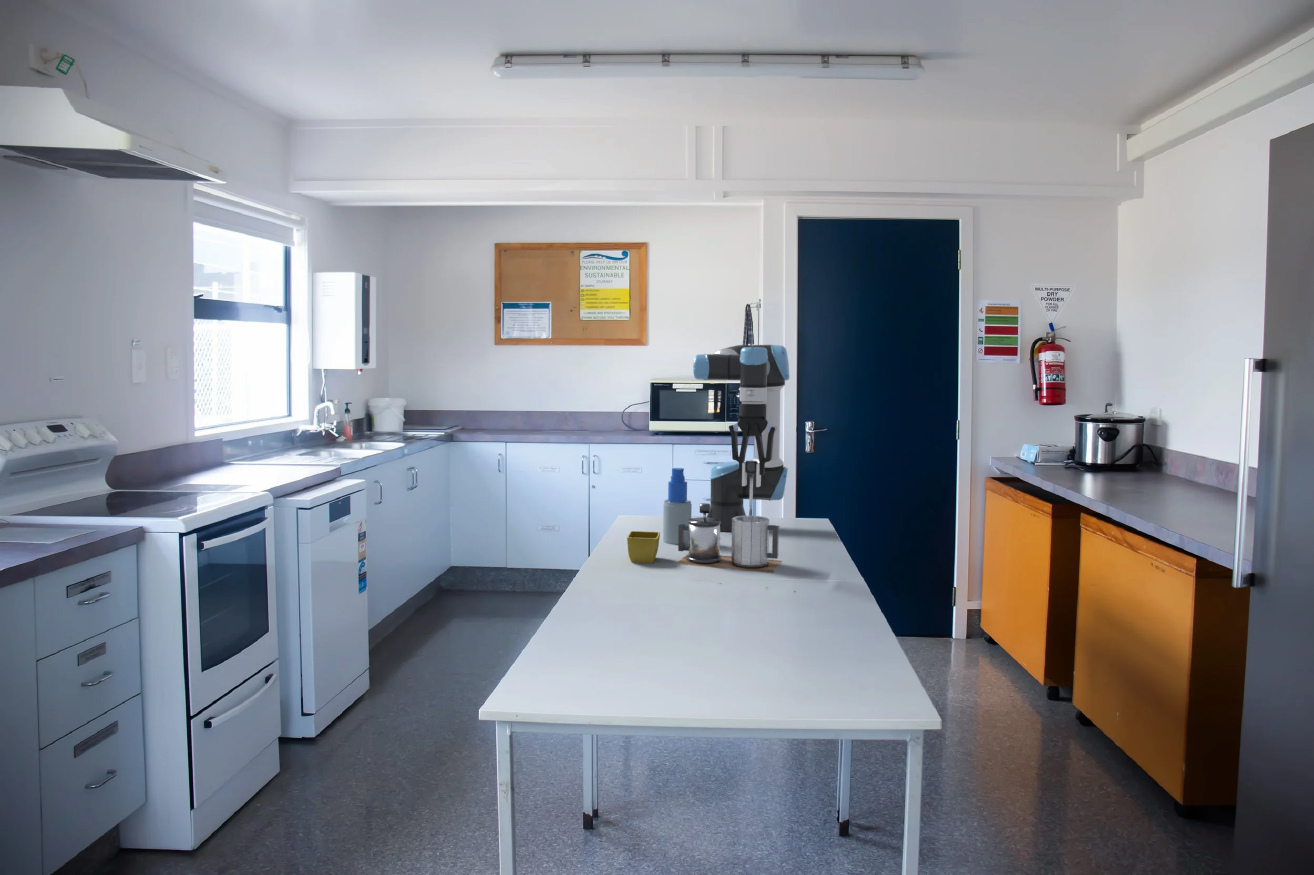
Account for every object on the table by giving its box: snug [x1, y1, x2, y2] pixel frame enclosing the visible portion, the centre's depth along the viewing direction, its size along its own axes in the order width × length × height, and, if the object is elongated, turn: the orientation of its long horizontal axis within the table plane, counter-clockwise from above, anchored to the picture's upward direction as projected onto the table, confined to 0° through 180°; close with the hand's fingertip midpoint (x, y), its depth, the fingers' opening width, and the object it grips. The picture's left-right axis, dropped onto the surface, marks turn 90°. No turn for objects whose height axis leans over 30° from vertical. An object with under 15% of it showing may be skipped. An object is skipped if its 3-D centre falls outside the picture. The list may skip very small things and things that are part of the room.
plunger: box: [745, 460, 758, 522], centre depth 228 cm, size 7×7×19 cm
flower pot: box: [626, 530, 661, 564], centre depth 234 cm, size 9×9×9 cm
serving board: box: [675, 552, 783, 574], centre depth 232 cm, size 14×28×2 cm, turn 71°
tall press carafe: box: [730, 515, 780, 569], centre depth 229 cm, size 10×13×13 cm
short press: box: [677, 502, 721, 564], centre depth 234 cm, size 10×13×16 cm
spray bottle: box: [662, 467, 692, 546], centre depth 257 cm, size 9×9×25 cm
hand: (751, 485), depth 228 cm, fingers closed on plunger, 3 cm apart
